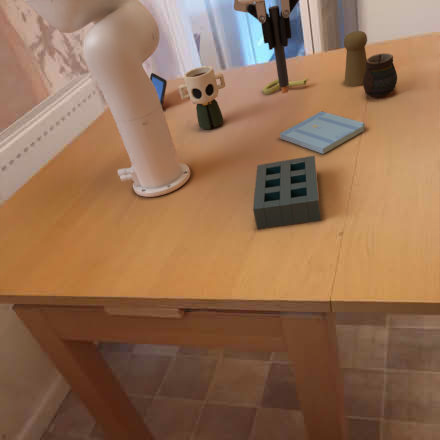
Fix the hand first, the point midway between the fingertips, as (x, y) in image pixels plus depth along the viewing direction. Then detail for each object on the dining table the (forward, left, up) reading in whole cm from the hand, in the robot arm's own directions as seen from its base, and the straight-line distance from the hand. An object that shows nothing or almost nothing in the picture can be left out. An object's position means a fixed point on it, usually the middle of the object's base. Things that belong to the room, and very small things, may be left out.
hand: (278, 44), depth 76 cm
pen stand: (-2, -10, -23) cm, 25 cm away
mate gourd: (+19, +29, -23) cm, 42 cm away
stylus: (0, 0, -8) cm, 8 cm away
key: (-3, +45, -23) cm, 51 cm away
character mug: (-21, +30, -23) cm, 43 cm away
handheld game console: (-42, +51, -23) cm, 70 cm away
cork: (+15, +40, -23) cm, 49 cm away
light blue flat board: (+5, +14, -23) cm, 28 cm away
